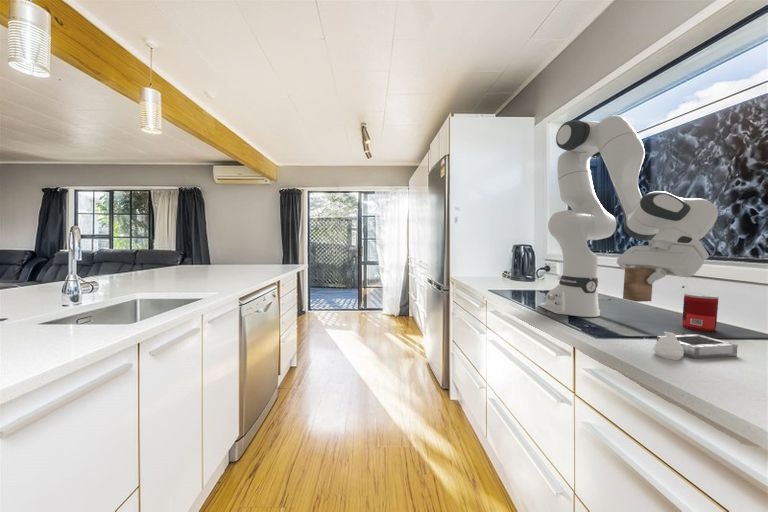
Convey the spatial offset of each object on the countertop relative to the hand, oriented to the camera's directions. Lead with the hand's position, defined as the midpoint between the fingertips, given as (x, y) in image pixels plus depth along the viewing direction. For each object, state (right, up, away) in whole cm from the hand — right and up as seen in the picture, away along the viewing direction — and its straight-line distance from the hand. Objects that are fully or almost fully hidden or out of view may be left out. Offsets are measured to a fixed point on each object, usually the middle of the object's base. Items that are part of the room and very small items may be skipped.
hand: (637, 280), depth 92 cm
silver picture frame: (+9, -17, -8) cm, 21 cm away
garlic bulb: (-2, -18, -12) cm, 21 cm away
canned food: (+31, -17, +15) cm, 38 cm away
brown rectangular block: (0, -5, 0) cm, 5 cm away
